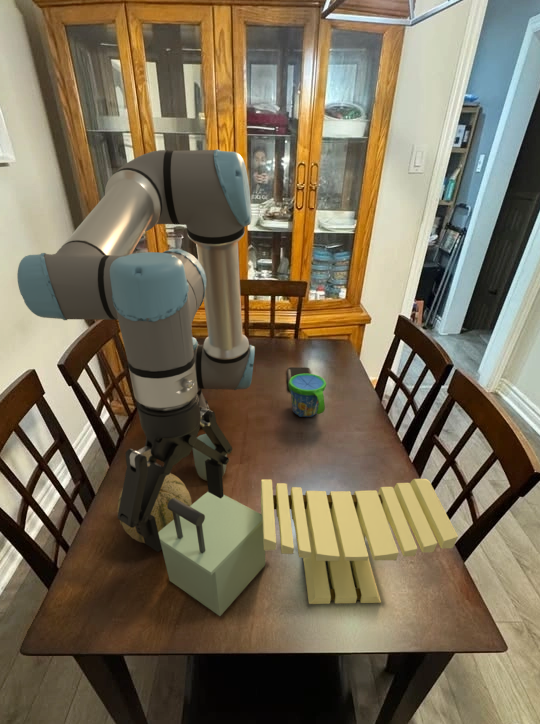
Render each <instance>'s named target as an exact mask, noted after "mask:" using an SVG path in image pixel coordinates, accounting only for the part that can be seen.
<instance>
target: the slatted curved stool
mask: <svg viewBox="0 0 540 724" xmlns="http://www.w3.org/2000/svg"><path fill="white" fill-rule="evenodd" d="M273 489H274V488H273V479H261V481H260V514H262V520H263V543H264V550H265V551H276V550H277V535H276V521H275V512H276V517H277V520H278V529H279V541H280V552H281V553H280V554H281V555H294V551H295V546H294V536H293V528H292V527H293V526H292V521H293V524H294V532H295V540H296V546H297V554H298V558H299V559H300V558H301V559H302V561H303V568H304V576H305V583H306V590H307V591H306V592H307V598H308V599H307V600H308V604H309V605H321V604H322V605H326V604H331V601H334V604H356V603H357V601H359V602H360V604H381V603H382V600H381V597H380V593H379V589H378V587H377V582H376V579H375V576H374V572H373V568H372V565H371V561H370V558H369V557H370V556H369V553H368V549H367V546H366V542H367V545H368V547H369V551H370V554H371V557H372V560H373V561H397V559H398V556H399V554H400V552H401V554H402V557H415V556H416V554H417V552H418V550H419V549H420V551H421V553H434V552H435V550H436V547H437V545H439V548H440V549H453V548H454V547H455V545H456V542H457V540H458V538H459V535H458V533H457V531H456V530H455V528H454V526H453V524H452V522H451V520H450V518H449V516H448V514H447V512H446V510H445V508H444V506H443V505H442V503H441V500H440V499H439V497H438V494H437V493H436V491H435V489H434V487H433V485H432V483H431V481H430V480H429V479H427V478H413V479H411V481H410V482H397V483H395V485H394V486H380V488H379V489H378V491H377V490H376V489H375V490H373V489H372V490H370V489H369V490H355V491H354V493H353V494H352V492H351V491H350V490H348V491H347V490H346V491H345V490H344V491H340V490H339V491H338V490H337V491H335V490H334V491H330V492H329V494H327V491H326V490H306V491H305V493H304V494H303V490H302V489H303V488H302V487H301V486H300V487H299V486H292V487H291V488H290V494H289V491H288V483H282V482H280V483H279V482H277V483H276V484H275V494H274V490H273ZM275 510H276V511H275ZM393 534H394V535H393ZM413 535H414V536H413ZM394 537H395V538H394ZM414 538H415V539H414ZM395 540H396V541H397V544H398V545H397V544H396V541H395ZM415 540H416V541H415ZM416 542H417V543H416ZM417 544H418V546H419V548H418V546H417ZM398 547H399V550H400V552H399V550H398ZM326 562H327V565H326ZM327 567H328V569H327ZM327 570H328V571H327ZM328 573H329V577H328ZM329 579H330V583H329ZM330 584H331V588H330ZM355 585H356V587H355Z"/></svg>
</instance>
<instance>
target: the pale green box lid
mask: <svg viewBox="0 0 540 724" xmlns="http://www.w3.org/2000/svg"><path fill="white" fill-rule="evenodd" d="M167 508H168V509H169V510H171V511H172V512H173V518H174V520H173V521H171V522H170V523H169V524H168V525H166V526H165V527H164V528H163V529H162V530H160V531H159V532H158V534H159V538H160V542H161V543H162V544H164V545H165V546H167V547H169V548H170V549H172V550H173V551H175V552H176V553H178V554H179V555H181V556H182V557H184V558H185V559H187V560H188V561H190V562H191V563H193V564H195V565H196V566H198V567H199V568H201V569H202V570H204V571H205V572H207V573H208V574H210V575H212V574H213V573H214V572H215V571H216V570H217V569H218V568H219V567H220V566H221V565H222V564H223V563H224V562H225V561H226V560H227V559H228V558H229V557H230V556H231V555H232V554H233V553H234V552H235V551H236V550H237V549H238V548H239V547H240V546H241V545H242V544H243V542H244V541H245V540H246V539H247V538H248V537H249V536H250V535H251V534H252V533H253V532H254V531H255V530H256V529H257V528H258V527H259V526H260V525H261V524H262V523H263V520H262V514H261V512H258V511H256V510H254V509H253V508H250V507H249V506H246V505H244V503H241V502H239V501H237V500H236V499H233V498H231V497H230V496H228V495H226V494H224V496H223V497H222V498H221V499H220V498H219V497H217V496H215V495H213V494H211V493H209V492H208V491H206V493H204V494H203V495H202V496H200V497H199V498H198V499H197V500H195V501H194V502H193V503H192V505H191V506H188V505H186V504H185V503H183V502H181V501H179V500H178V499H176V498H172V499H171V500H170V501H169V502H168V505H167Z"/></svg>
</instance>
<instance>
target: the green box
mask: <svg viewBox="0 0 540 724" xmlns="http://www.w3.org/2000/svg"><path fill="white" fill-rule="evenodd" d="M161 547H162V549H161V550H162V556H163V559H164V564H165V568H166V573H167V576H168V581H169V582H170V583H172V584H174V586H176V587H178V588H179V589H181V590H182V591H183V592H185V593H186V594H187V595H189V596H190V597H192V598H193V599H194V600H195V601H198V602H199V603H200V604H202V605H203V606H204V607H206V608H207V609H209V610H211V611H212V612H213V613H214V614H216V615H217V616H219V617H221V616H222V615H223V614H224V613H225V611H226V610H227V609H228V608H229V607H230V606H231V605H232V603H233V602H234V601H235V600H236V599H237V598H238V597H239V596H240V595H241V593H242V592H243V591H245V589H246V588H247V586H248V585H249V584H250V583H251V582H252V581H253V580H254V579H255V577H256V576H257V575H258V574H259V573H260V572H261V571H262V570H263V568H264V567H265V566H266V550H264V543H263V523H262V524H261V525H260V526H259V527H258V528H257V529H256V530H255V531H254V532H253V533H252V534H251V535H250V536H249V537H248V538H247V539H246V540H245V541H244V542H243V544H242V545H241V546H240V547H239V548H238V549H237V550H236V551H235V552H234V553H233V554H232V555H231V556H230V557H229V558H228V559H227V560H226V561H225V562H224V563H223V564H222V565H221V566H220V567H219V568H218V569H217V570H216V571H215V572H214V573H213V574H212V575H210V574H208V573H207V572H205V571H204V570H202V569H201V568H199V567H198V566H196V565H195V564H193V563H191V562H190V561H188V560H187V559H185V558H184V557H182V556H181V555H179V554H178V553H176V552H175V551H173V550H172V549H170V548H169V547H167V546H165V545H164V544H162V543H161Z"/></svg>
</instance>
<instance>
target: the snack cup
mask: <svg viewBox="0 0 540 724" xmlns="http://www.w3.org/2000/svg"><path fill="white" fill-rule="evenodd" d="M326 387H327V381H326V380H325V378H323V377H321V376H320V375H318V374H314V373H310V374H298V375H295V376H293V377H292V378H291V379H290V381H289V389H288V391H289V392H290V396H291V397H290V399H291V407H292V412H293V413H294V414H295V415H296V416H298V417H299V418H312V417H314V416H316V414H317V415H321V414H323V413H324V412H325V410H326V405H325V396H324V391H325V390H326Z"/></svg>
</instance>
